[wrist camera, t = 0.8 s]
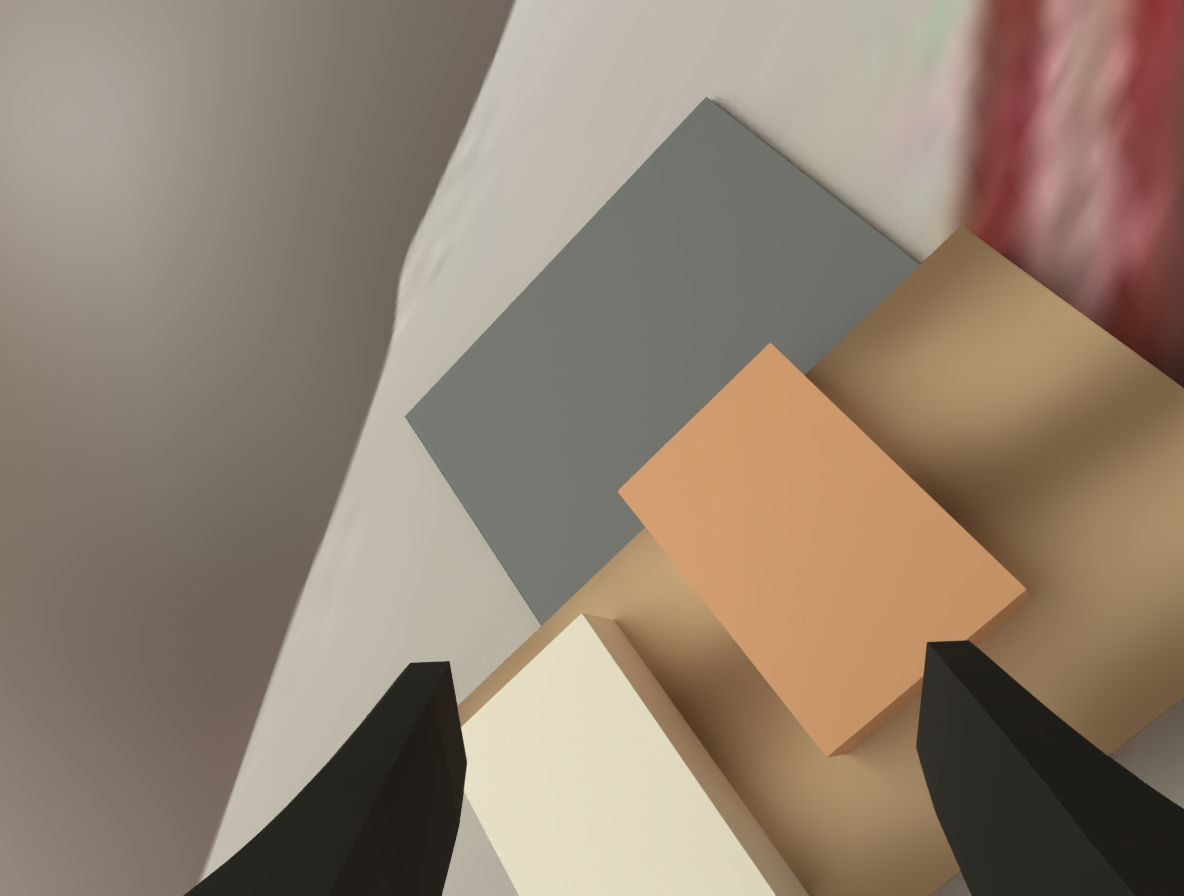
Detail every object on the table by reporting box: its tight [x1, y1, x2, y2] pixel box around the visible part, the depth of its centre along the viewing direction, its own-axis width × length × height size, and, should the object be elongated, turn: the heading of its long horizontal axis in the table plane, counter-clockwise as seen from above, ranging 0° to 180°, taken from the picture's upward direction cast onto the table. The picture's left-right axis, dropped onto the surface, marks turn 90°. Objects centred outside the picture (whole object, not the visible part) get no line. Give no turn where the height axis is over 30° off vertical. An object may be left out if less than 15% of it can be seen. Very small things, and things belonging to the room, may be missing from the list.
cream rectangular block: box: [461, 613, 809, 896], centre depth 24 cm, size 9×6×2 cm, turn 37°
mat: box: [405, 97, 920, 626], centre depth 31 cm, size 12×17×1 cm
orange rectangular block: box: [618, 343, 1031, 757], centre depth 23 cm, size 9×6×2 cm, turn 37°
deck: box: [457, 226, 1184, 896], centre depth 25 cm, size 12×22×2 cm, turn 127°
